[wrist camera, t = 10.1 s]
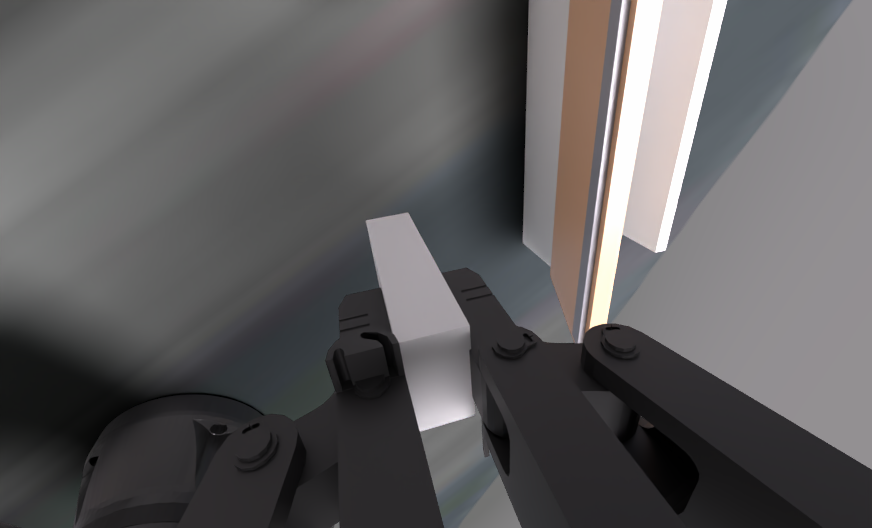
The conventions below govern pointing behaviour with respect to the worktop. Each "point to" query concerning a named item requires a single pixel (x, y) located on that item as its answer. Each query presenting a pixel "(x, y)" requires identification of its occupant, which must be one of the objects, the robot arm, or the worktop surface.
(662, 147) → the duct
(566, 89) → the duct cover
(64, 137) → the worktop surface
